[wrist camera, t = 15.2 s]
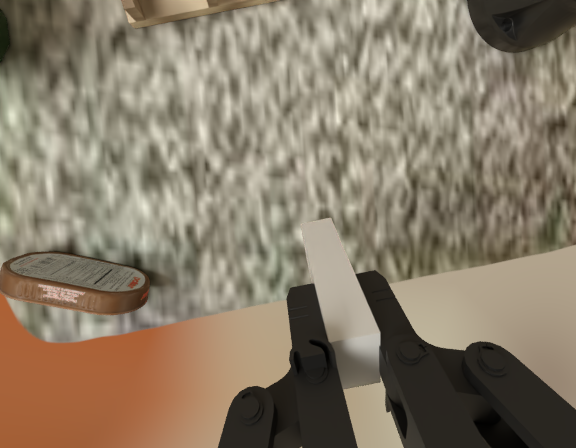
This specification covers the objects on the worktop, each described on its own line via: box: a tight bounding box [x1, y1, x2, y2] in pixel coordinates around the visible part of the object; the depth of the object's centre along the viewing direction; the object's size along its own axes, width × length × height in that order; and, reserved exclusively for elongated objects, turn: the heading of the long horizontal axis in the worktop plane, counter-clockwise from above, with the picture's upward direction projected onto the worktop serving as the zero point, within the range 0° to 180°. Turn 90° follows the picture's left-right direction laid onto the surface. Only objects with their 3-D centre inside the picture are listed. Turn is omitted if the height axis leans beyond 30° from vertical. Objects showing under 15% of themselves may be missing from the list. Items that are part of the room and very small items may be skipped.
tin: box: [0, 252, 150, 315], centre depth 34 cm, size 15×3×8 cm, turn 72°
